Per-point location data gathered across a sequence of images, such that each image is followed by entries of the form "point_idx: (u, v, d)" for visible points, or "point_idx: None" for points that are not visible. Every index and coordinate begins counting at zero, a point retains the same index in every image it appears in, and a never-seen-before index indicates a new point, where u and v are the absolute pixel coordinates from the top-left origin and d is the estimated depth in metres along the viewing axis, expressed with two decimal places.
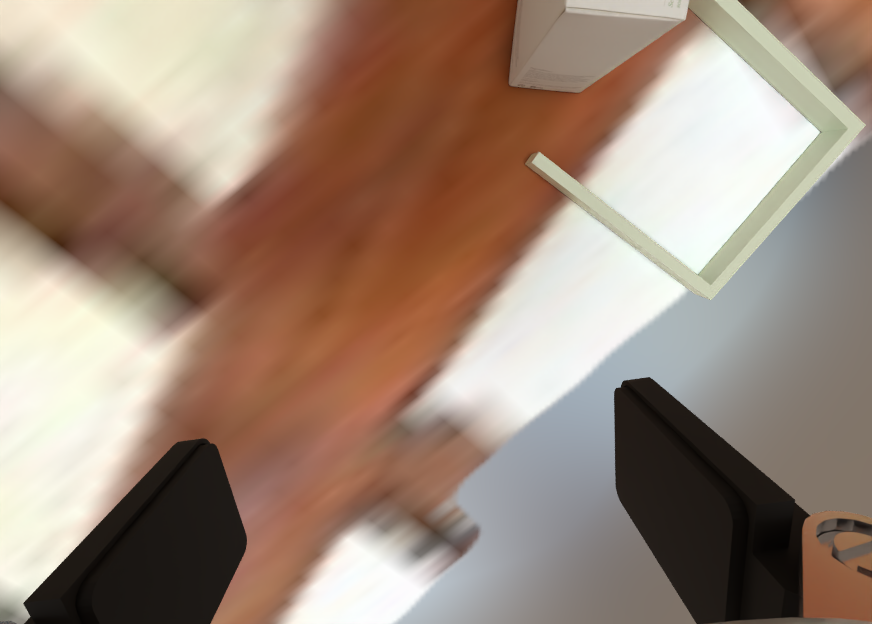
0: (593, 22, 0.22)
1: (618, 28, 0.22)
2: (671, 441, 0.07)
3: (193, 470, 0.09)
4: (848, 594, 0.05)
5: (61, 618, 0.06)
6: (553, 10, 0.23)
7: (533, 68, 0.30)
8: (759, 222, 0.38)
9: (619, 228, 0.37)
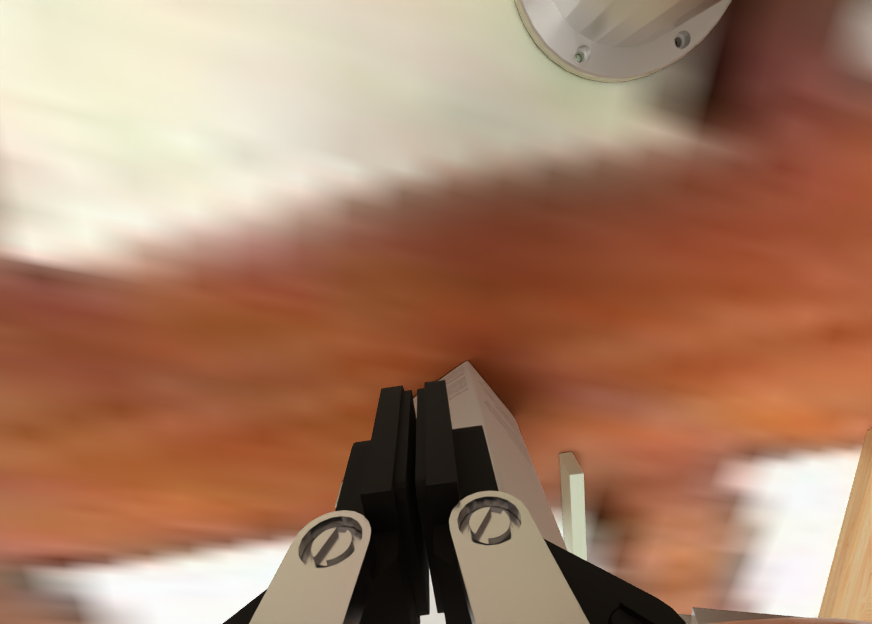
0: None
1: None
2: (417, 435, 0.08)
3: (410, 409, 0.10)
4: (491, 570, 0.05)
5: (385, 509, 0.07)
6: None
7: None
8: None
9: None
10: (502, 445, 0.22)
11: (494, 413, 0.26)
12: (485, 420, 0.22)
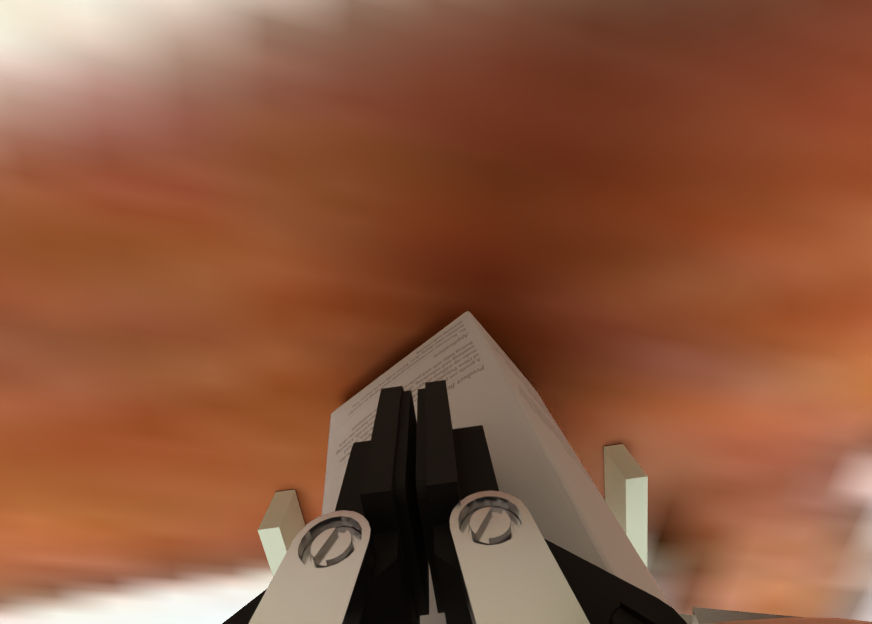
0: None
1: None
2: (417, 435, 0.08)
3: (410, 409, 0.10)
4: (492, 570, 0.05)
5: (385, 509, 0.07)
6: None
7: None
8: None
9: None
10: (586, 498, 0.10)
11: (536, 410, 0.14)
12: (546, 446, 0.11)
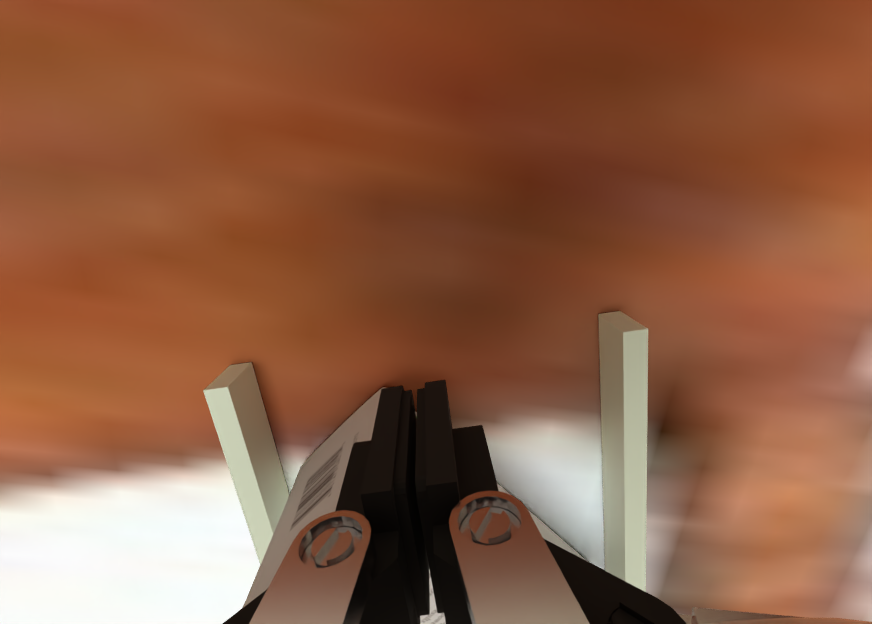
0: None
1: None
2: (417, 435, 0.08)
3: (410, 409, 0.10)
4: (491, 570, 0.05)
5: (385, 509, 0.07)
6: None
7: None
8: None
9: None
10: None
11: None
12: None
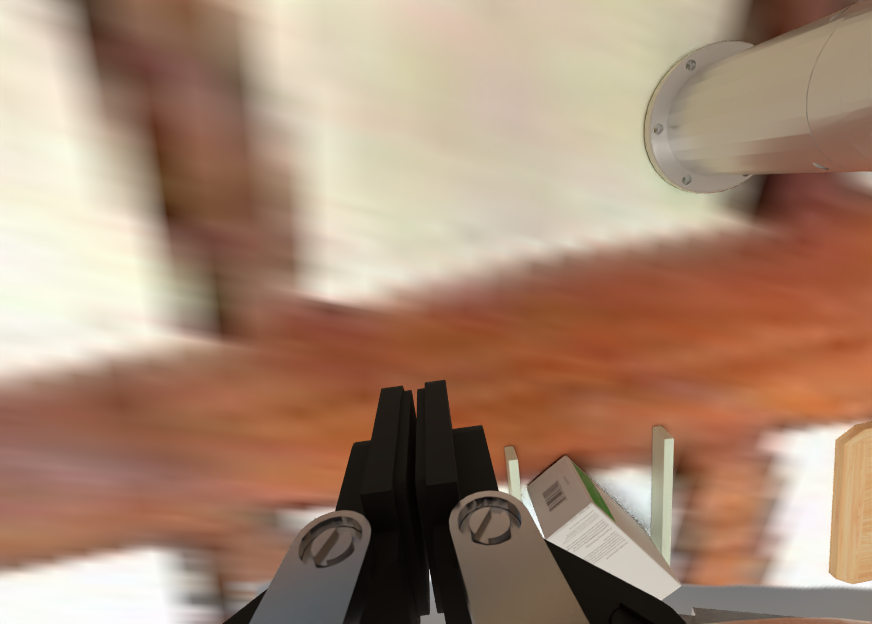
0: None
1: None
2: (417, 435, 0.08)
3: (410, 409, 0.10)
4: (491, 570, 0.05)
5: (385, 509, 0.07)
6: None
7: None
8: None
9: None
10: None
11: (592, 560, 0.43)
12: None
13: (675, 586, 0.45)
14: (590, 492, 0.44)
